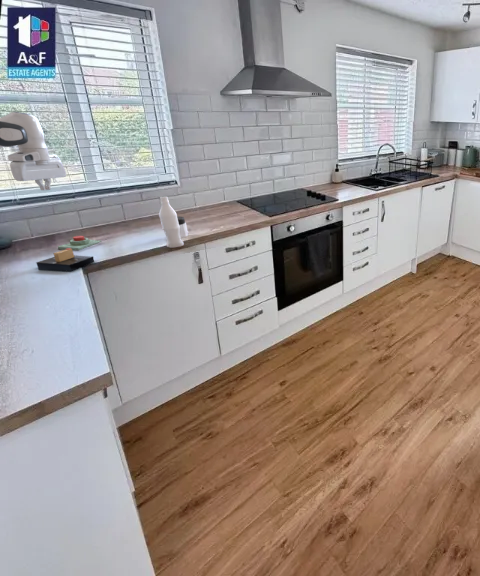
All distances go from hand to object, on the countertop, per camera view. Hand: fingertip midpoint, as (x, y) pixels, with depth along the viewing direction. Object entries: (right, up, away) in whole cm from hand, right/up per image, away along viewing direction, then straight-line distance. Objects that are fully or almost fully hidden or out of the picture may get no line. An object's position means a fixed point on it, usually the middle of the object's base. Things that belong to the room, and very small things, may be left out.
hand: (45, 190), depth 157 cm
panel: (+16, -33, -8) cm, 38 cm away
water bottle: (+46, -24, +18) cm, 55 cm away
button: (+3, -20, +14) cm, 24 cm away
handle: (+16, -30, -9) cm, 36 cm away
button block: (+2, -23, +15) cm, 28 cm away
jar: (+40, -18, +31) cm, 54 cm away
